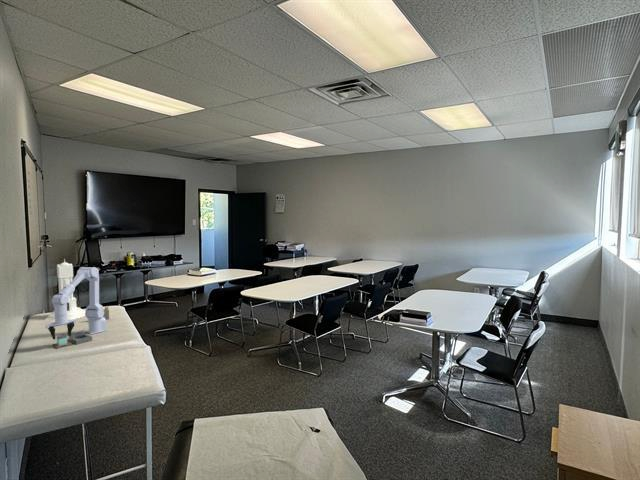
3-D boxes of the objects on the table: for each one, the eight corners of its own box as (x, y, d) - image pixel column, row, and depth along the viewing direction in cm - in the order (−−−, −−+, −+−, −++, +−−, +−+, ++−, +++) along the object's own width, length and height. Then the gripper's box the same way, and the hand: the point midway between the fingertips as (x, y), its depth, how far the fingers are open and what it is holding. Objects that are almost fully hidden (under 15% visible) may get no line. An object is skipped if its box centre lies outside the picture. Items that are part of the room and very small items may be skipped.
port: (83, 336, 229) (83, 330, 229) (92, 340, 221) (91, 334, 221) (68, 339, 222) (68, 333, 222) (76, 344, 215) (76, 338, 214)
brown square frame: (67, 342, 218) (67, 340, 218) (71, 345, 214) (71, 343, 214) (52, 345, 212) (52, 344, 212) (57, 348, 208) (56, 347, 208)
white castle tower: (93, 316, 274) (90, 258, 271) (47, 324, 254) (43, 261, 251) (84, 309, 294) (82, 255, 291) (41, 316, 274) (38, 257, 271)
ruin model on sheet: (108, 319, 269) (108, 306, 268) (109, 320, 266) (108, 307, 266) (91, 321, 262) (90, 308, 262) (91, 322, 260) (90, 309, 259)
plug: (64, 343, 216) (64, 334, 215) (67, 345, 213) (66, 336, 213) (57, 345, 213) (56, 336, 212) (59, 347, 210) (58, 338, 210)
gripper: (72, 311, 220) (73, 332, 221) (43, 316, 208) (44, 339, 209) (76, 313, 216) (77, 335, 216) (47, 318, 204) (48, 341, 205)
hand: (61, 337), depth 213 cm, fingers open, 7 cm apart
